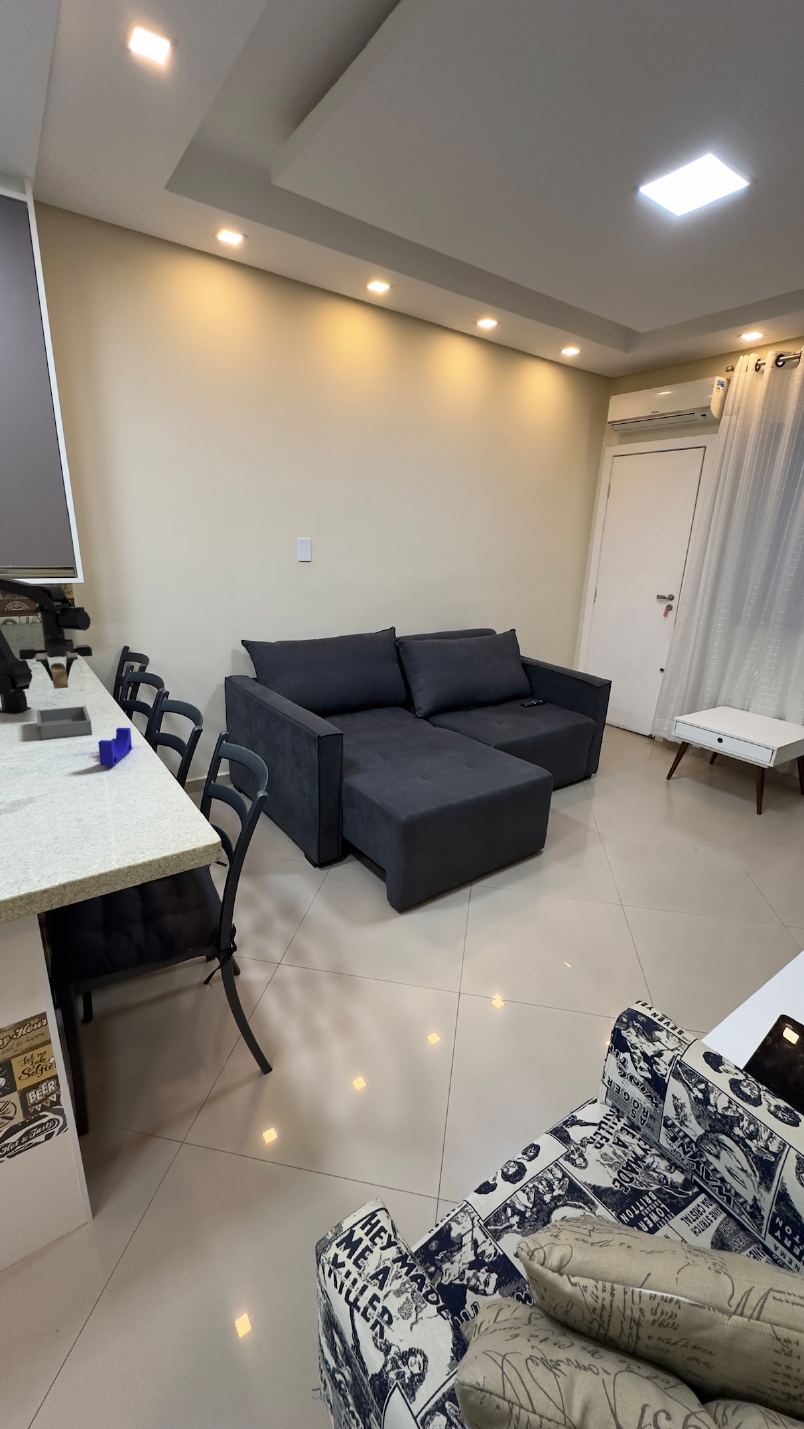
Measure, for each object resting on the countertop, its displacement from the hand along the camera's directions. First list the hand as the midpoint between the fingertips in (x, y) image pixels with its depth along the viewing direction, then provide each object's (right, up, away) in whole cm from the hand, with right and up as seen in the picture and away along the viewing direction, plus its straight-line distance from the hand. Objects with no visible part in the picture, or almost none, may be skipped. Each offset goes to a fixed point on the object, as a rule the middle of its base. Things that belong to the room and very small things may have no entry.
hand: (59, 680), depth 177 cm
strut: (0, -1, 0) cm, 1 cm away
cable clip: (+31, -21, -30) cm, 48 cm away
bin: (+7, -15, -10) cm, 19 cm away
